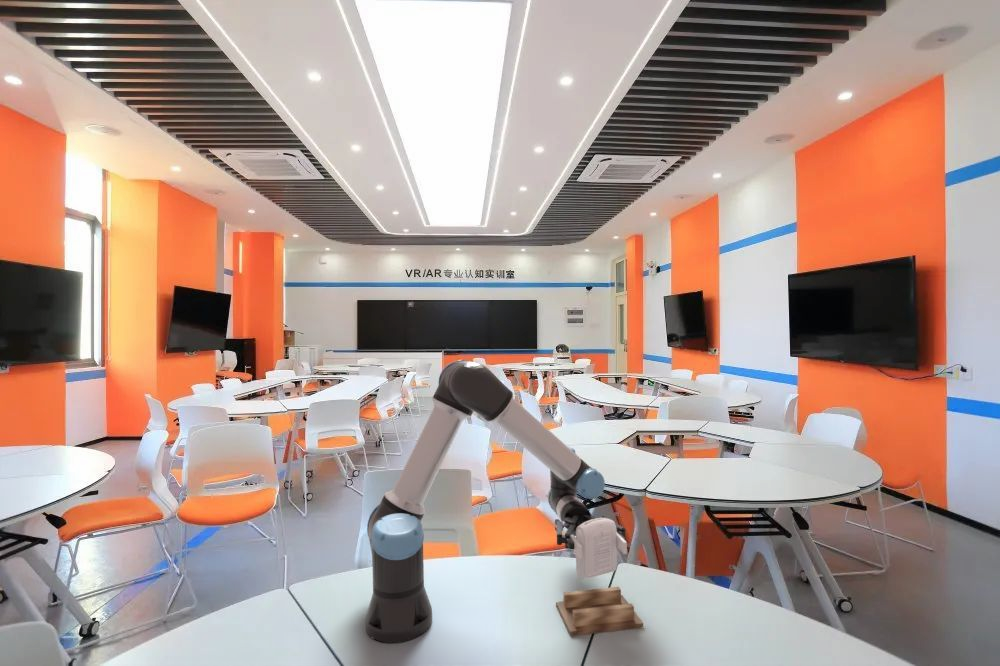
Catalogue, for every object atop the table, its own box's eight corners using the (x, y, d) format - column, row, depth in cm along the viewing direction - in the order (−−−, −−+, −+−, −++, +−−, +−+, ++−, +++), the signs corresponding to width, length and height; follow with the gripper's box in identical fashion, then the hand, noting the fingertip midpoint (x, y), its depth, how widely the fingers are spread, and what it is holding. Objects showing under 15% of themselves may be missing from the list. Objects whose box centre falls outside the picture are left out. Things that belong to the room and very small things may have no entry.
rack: (570, 636, 107) (569, 617, 107) (556, 606, 119) (555, 589, 119) (643, 627, 109) (643, 609, 109) (622, 599, 121) (621, 583, 121)
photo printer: (608, 563, 118) (607, 512, 118) (620, 570, 114) (619, 518, 115) (573, 573, 114) (572, 520, 114) (584, 581, 110) (583, 526, 110)
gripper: (613, 524, 134) (650, 562, 112) (533, 531, 130) (555, 571, 108) (612, 497, 134) (649, 529, 112) (532, 503, 130) (554, 538, 108)
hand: (603, 550), depth 110 cm, fingers closed on photo printer, 10 cm apart
